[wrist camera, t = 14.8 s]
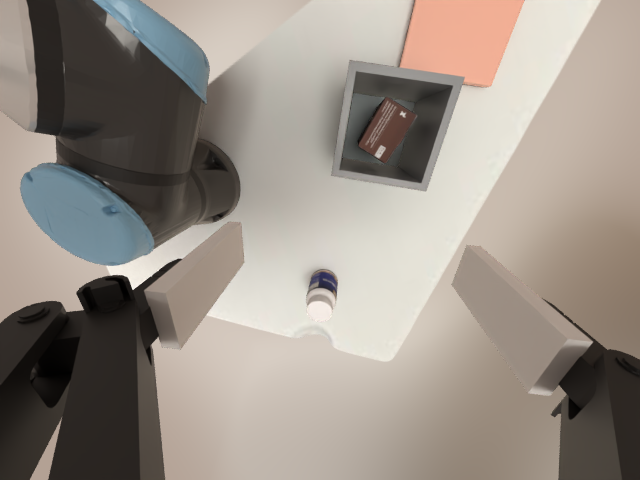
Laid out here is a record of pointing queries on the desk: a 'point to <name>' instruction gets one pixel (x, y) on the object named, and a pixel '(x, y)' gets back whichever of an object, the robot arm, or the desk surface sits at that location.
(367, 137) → the box
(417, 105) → the bin
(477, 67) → the lid
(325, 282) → the pill bottle
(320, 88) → the desk surface
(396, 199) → the desk surface
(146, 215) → the robot arm
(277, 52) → the desk surface
